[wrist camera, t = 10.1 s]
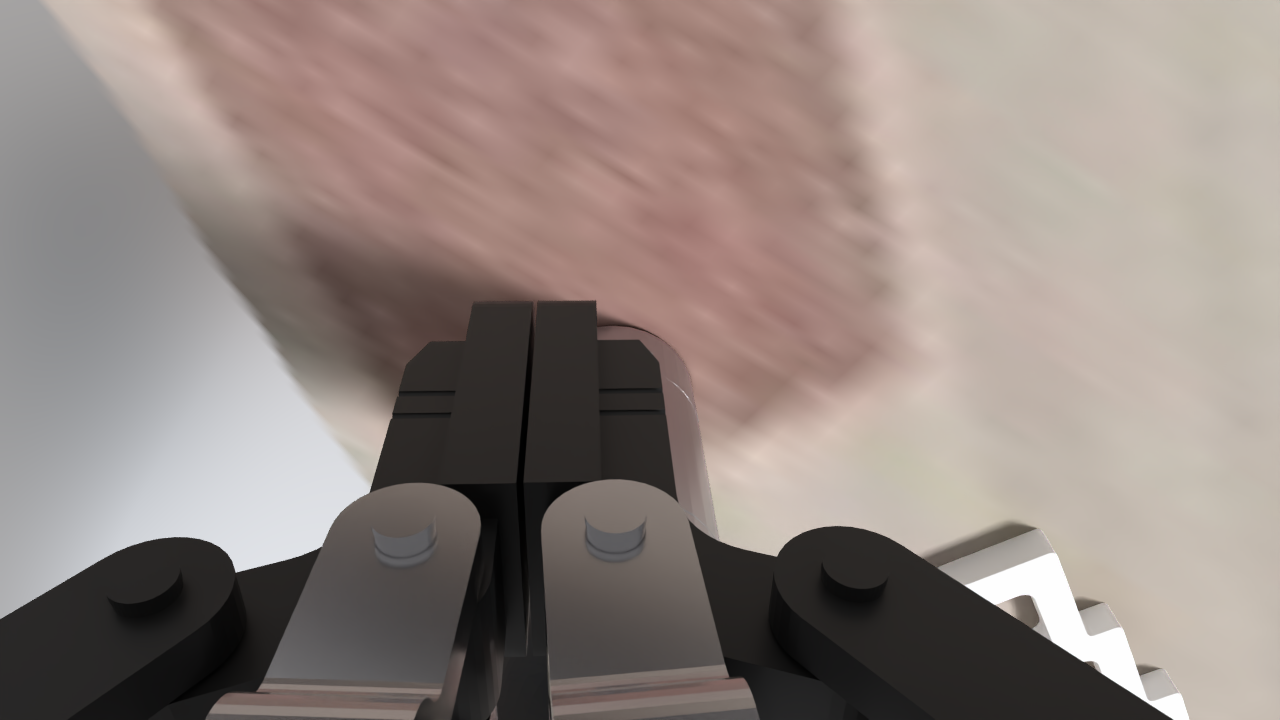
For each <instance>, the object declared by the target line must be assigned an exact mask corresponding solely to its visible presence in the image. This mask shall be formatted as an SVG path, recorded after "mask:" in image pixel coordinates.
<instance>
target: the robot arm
mask: <svg viewBox="0 0 1280 720" xmlns="http://www.w3.org/2000/svg"><path fill="white" fill-rule="evenodd" d="M392 414H393V418H392V419H391V420H390V423H389V427H388V430H387V434H386V437H385V441H384V444H383V448H382V451H381V455H380V458H379V462H378V465H377V469H376V472H375V476H374V479H373V483H372V486H371V490H370V493H369V494H367V495H365V496H363V497H361V498H359V499H357V500H356V501H354V502H353V503H352V504H350V505H349V506H348V507H346V508H345V509H344V510H343V511H342V512H341V513H340V514H339V516H338V517H337V518H336V519H335V521H334V523H333V524H332V526H331V528H330V530H329V532H328V534H327V537H326V539H325V541H324V543H323V546H322V547H320V548H319V549H317V550H314V551H312V552H309V553H307V554H304V555H302V556H299V557H296V558H292V559H289V560H285V561H281V562H277V563H273V564H269V565H265V566H261V567H257V568H253V569H249V570H245V571H241V572H237V573H235V569H234V566H233V563H232V560H231V559H230V557H229V556H228V554H227V553H226V552H225V551H223V550H222V549H221V548H220V547H218V546H216V545H214V544H212V543H210V542H207V541H203V540H200V539H195V538H187V537H186V538H185V537H173V538H162V539H156V540H151V541H146V542H143V543H139V544H136V545H133V546H130V547H127V548H125V549H122V550H120V551H117V552H115V553H113V554H112V555H110V556H108V557H106V558H104V559H102V560H100V561H99V562H97V563H95V564H94V565H92V566H90V567H88V568H87V569H85V570H83V571H82V572H80V573H78V574H77V575H75V576H73V577H71V578H70V579H68V580H66V581H65V582H63V583H61V584H60V585H58V586H56V587H54V588H53V589H51V590H49V591H48V592H46V593H44V594H43V595H41V596H39V597H37V598H36V599H34V600H32V601H31V602H29V603H27V604H26V605H24V606H22V607H20V608H19V609H17V610H15V611H14V612H12V613H10V614H8V615H7V616H5V617H3V618H2V619H0V720H1173V719H1172V718H1170V717H1169V716H1167V715H1166V714H1164V713H1163V712H1161V711H1159V710H1158V709H1156V708H1155V707H1153V706H1152V705H1150V704H1148V703H1147V702H1145V701H1144V700H1142V699H1141V698H1139V697H1138V696H1136V695H1134V694H1133V693H1131V692H1130V691H1128V690H1127V689H1125V688H1124V687H1122V686H1120V685H1119V684H1117V683H1116V682H1114V681H1113V680H1111V679H1109V678H1108V677H1106V676H1105V675H1103V674H1102V673H1100V672H1099V671H1097V670H1095V669H1094V668H1092V667H1091V666H1089V665H1088V664H1086V663H1085V662H1083V661H1081V660H1080V659H1078V658H1077V657H1075V656H1074V655H1072V654H1070V653H1069V652H1067V651H1066V650H1064V649H1063V648H1061V647H1060V646H1058V645H1056V644H1055V643H1053V642H1052V641H1050V640H1049V639H1047V638H1046V637H1044V636H1042V635H1041V634H1039V633H1038V632H1036V631H1035V630H1033V629H1031V628H1030V627H1028V626H1027V625H1025V624H1024V623H1022V622H1021V621H1019V620H1017V619H1016V618H1014V617H1013V616H1011V615H1010V614H1008V613H1007V612H1005V611H1003V610H1002V609H1000V608H999V607H997V606H996V605H994V604H992V603H991V602H989V601H988V600H986V599H985V598H983V597H982V596H980V595H978V594H977V593H975V592H974V591H972V590H971V589H969V588H968V587H966V586H964V585H963V584H961V583H960V582H958V581H957V580H955V579H953V578H952V577H950V576H949V575H947V574H946V573H944V572H943V571H941V570H939V569H938V568H936V567H935V566H933V565H932V564H930V563H928V562H927V561H925V560H924V559H922V558H921V557H919V556H918V555H916V554H914V553H913V552H911V551H910V550H908V549H907V548H905V547H904V546H902V545H900V544H899V543H897V542H895V541H893V540H891V539H890V538H888V537H885V536H883V535H880V534H878V533H875V532H872V531H868V530H865V529H860V528H854V527H843V526H832V527H822V528H817V529H812V530H810V531H807V532H804V533H802V534H800V535H798V536H796V537H794V538H793V539H791V540H790V541H789V542H788V543H786V544H785V546H784V547H783V548H782V549H781V551H780V552H779V554H778V556H777V557H775V556H771V555H766V554H762V553H757V552H753V551H748V550H744V549H740V548H737V547H733V546H730V545H727V544H725V543H722V542H720V540H719V534H718V528H717V523H716V517H715V512H714V506H713V500H712V495H711V489H710V484H709V478H708V472H707V467H706V461H705V456H704V450H703V444H702V439H701V433H700V428H699V421H698V415H697V410H696V405H695V400H694V394H693V389H692V384H691V378H690V374H689V372H688V370H687V368H686V366H685V363H684V361H683V360H682V359H681V358H680V356H679V355H678V354H677V353H676V351H675V350H674V349H673V348H672V347H670V346H669V345H668V344H667V343H665V342H664V341H663V340H662V339H660V338H658V337H656V336H654V335H652V334H650V333H648V332H645V331H642V330H638V329H634V328H631V327H622V326H603V327H597V311H596V301H538V304H537V317H536V329H535V312H534V303H533V301H492V302H474V303H473V306H472V311H471V316H470V321H469V326H468V331H467V336H466V341H446V342H430V343H428V344H427V345H426V346H425V347H424V348H423V349H422V350H421V351H420V352H419V353H418V354H417V355H416V356H415V357H414V358H413V359H412V360H411V361H410V362H409V363H408V364H407V365H406V368H405V371H404V375H403V378H402V382H401V385H400V389H399V397H397V399H396V403H395V406H394V410H393V413H392Z"/></svg>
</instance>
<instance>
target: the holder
mask: <svg viewBox="0 0 1280 720" xmlns="http://www.w3.org/2000/svg"><path fill="white" fill-rule="evenodd" d="M936 568H938V569H939V570H941V571H943V572H944V573H946V574H947V575H949V576H950V577H952V578H953V579H955V580H957V581H958V582H960V583H961V584H963V585H964V586H966V587H968V588H969V589H971V590H972V591H974V592H975V593H977V594H978V595H980V596H982V597H983V598H985V599H986V600H988V601H989V602H991V603H992V604H994V605H996V604H999V603H1001V602H1004V601H1007V600H1009V599H1012V598H1015V597H1017V596H1020V595H1030V596H1031V599H1032V601H1033V603H1034V606H1035V608H1036V611H1037V613H1038V615H1039V622H1038V624H1037V625H1036V626H1035V627H1034V628H1032V629H1033V630H1035V631H1036V632H1038V633H1039V634H1041V635H1042V636H1044V637H1046V638H1047V639H1049V640H1050V641H1052V642H1053V643H1055V644H1056V645H1058V646H1060V647H1061V648H1063V649H1064V650H1066V651H1067V652H1069V653H1070V654H1072V655H1074V656H1075V657H1077V658H1078V659H1080V660H1081V661H1083V662H1086V661H1093V663H1094V666H1095V668H1096V670H1097V671H1099V672H1100V673H1102V674H1103V675H1105V676H1106V677H1108V678H1109V679H1111V680H1113V681H1114V682H1116V683H1117V684H1119V685H1120V686H1122V687H1124V688H1125V689H1127V690H1128V691H1130V692H1131V693H1133V694H1134V695H1136V696H1138V697H1139V698H1141V699H1142V700H1144V701H1145V702H1147V703H1148V704H1150V705H1152V706H1153V707H1155V708H1156V709H1158V710H1159V711H1161V712H1163V713H1164V714H1166V715H1167V716H1169V717H1170V718H1172V719H1173V720H1189V717H1188V714H1187V711H1186V708H1185V705H1184V701H1183V698H1182V695H1181V694H1180V692H1179V690H1178V689H1177V687H1176V686H1175V684H1174V683H1173V681H1172V680H1171V678H1170V676H1169V675H1168V673H1167V672H1166V670H1165V669H1157V670H1155V671H1152V672H1149V673H1146V674H1143V675H1140V676H1139V673H1138V671H1137V668H1136V665H1135V662H1134V659H1133V656H1132V653H1131V650H1130V648H1129V645H1128V642H1127V639H1126V636H1125V633H1124V630H1123V628H1122V627H1121V625H1120V624H1119V622H1118V620H1117V619H1116V617H1115V616H1114V614H1113V612H1112V611H1111V609H1110V607H1109V606H1108V604H1106V603H1100V604H1097V605H1095V606H1092V607H1089V608H1087V609H1084V610H1081V611H1078V609H1077V606H1076V603H1075V601H1074V598H1073V595H1072V593H1071V590H1070V588H1069V585H1068V582H1067V580H1066V577H1065V574H1064V572H1063V569H1062V566H1061V564H1060V561H1059V558H1058V556H1057V554H1056V552H1055V551H1054V549H1053V547H1052V546H1051V544H1050V542H1049V541H1048V539H1047V537H1046V536H1045V534H1044V532H1043V531H1042V530H1041V529H1034V530H1032V531H1029V532H1027V533H1024V534H1021V535H1019V536H1016V537H1014V538H1011V539H1009V540H1006V541H1003V542H1001V543H998V544H996V545H993V546H990V547H988V548H985V549H983V550H980V551H978V552H975V553H972V554H970V555H967V556H965V557H962V558H960V559H957V560H954V561H952V562H949V563H947V564H944V565H942V566H939V567H936Z"/></svg>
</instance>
